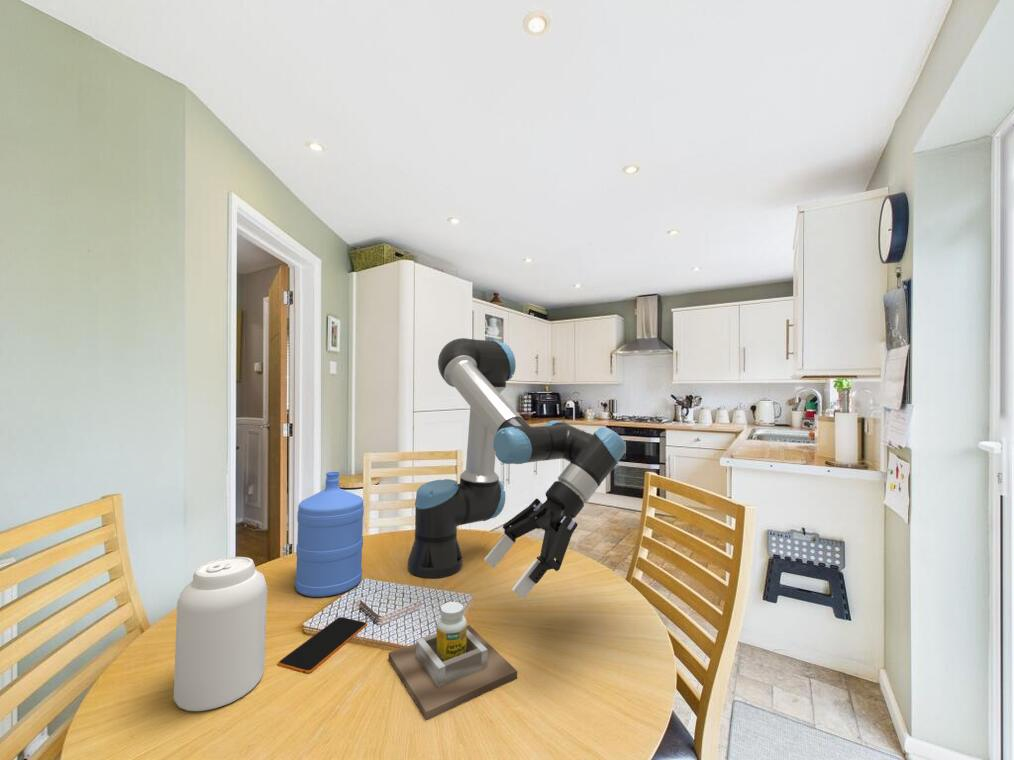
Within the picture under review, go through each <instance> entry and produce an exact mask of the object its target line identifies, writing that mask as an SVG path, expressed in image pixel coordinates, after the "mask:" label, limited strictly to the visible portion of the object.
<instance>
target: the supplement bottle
mask: <svg viewBox="0 0 1014 760" xmlns="http://www.w3.org/2000/svg"><path fill="white" fill-rule="evenodd" d="M467 623H468V622H467V619H466V616H464V606H463V604H462V603H461V602H456V601H450V602H446V603H443V604H442V605H441V607H440V617H439V618H438V620H437V622H436V633H437V656H438V657H439V659H440V660H441V661H442V662H444V661H447V660H449V659H452V658H454V657H457V656H459V655H462V654H465V653H466V639H467Z"/></svg>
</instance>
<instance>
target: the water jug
mask: <svg viewBox="0 0 1014 760" xmlns="http://www.w3.org/2000/svg"><path fill="white" fill-rule="evenodd" d="M339 475H340V472H338V471H328V472H326V473H325V476H326V477H325V478H326V479H325V488H324V489H323V490H321V491H319V492H317V493H315V494H313V495H311V496H309V497H306V498H305V499H303V500H301V501H300V502H299V504H298V505H297V506H298V507H297V508H298V510H297V514H296V515H297V518H296V520H297V521H296V522H297V540H296V541H297V543H296V547H295V549H296V550H295V551H296V552H295V553H296V570H295V571H296V572H295V573H296V574H295V575H296V577H295V580H294V585H295V586H294V587H295V590H297V592H298V593H299V594H301V595H302V596H306V597H311V598H324V597H325V598H326V597H332V596H336V595H339V594H342V593H345V592H348V591H349V590H352V589H353V588H355V587H356V586H357V585H359V583H360V582H361V580H362V577H363V568H362V566H363V565H362V561H363V560H362V559H363V556H362V554H363V546H364V536H363V533H364V531H363V527H364V511H365V510H364V509H365V507H364V499H363V498H362V496H360V495H357V494H355V493H352V492H350V491H347V490H344V489H341V488H340V487H339V484H340V483H339V482H340V478H339Z"/></svg>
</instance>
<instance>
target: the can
mask: <svg viewBox="0 0 1014 760" xmlns="http://www.w3.org/2000/svg"><path fill="white" fill-rule="evenodd" d="M267 599H268V585H267V583H266V579H265V575H264V573H262V572H260V571H259V570H257V568H256V565H255V562H254V560H253V559H252V558H250V557H246V556H245V557H244V556H228V557H223V558H219V559H215V560H212V561H209V562H206V563H204V564H202V565H200V566H199V567H197V568H196V569H195V571H194V573H193V575H192V580H191V581H190V583H188V584H187V585H186V586H185V587H184V588H183V589H182V590H181V592H180V593H179V598H178V599H177V605H176V620H175V621H176V623H175V624H176V627H175V648H174V649H175V652H174V653H175V654H174V674H173V675H174V676H173V677H174V678H173V701H174V703H176V705H177V707H178V708H179V709H182V710H185V711H187V712H204V711H209V710H214V709H218V708H220V707H224V706H226V705H229V704H231V703H233V702H235V701H237V700H238V699H241V698H243V697H244V696H245V695H247V694H248V693H249V692H250V691H252V690H253V689H254V688H255V687H256V686H257V685H258V683H259V682H260V681H261V679H262V677H263V674H264V672H265V667H266V666H265V663H266V661H265V658H266V634H267V632H266V631H267V629H266V628H267V602H268V600H267Z"/></svg>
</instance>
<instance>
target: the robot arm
mask: <svg viewBox="0 0 1014 760" xmlns="http://www.w3.org/2000/svg"><path fill="white" fill-rule="evenodd" d="M516 363H517V362H516V357H515V354H514V352H513V351H512V349H511V347H510V346H508V344H506V343H504V342H500V341H495V340H483V339H474V338H472V339H471V338H465V337H461V338H456V339H453V340H451V341H449V342H447V344H445V345H444V346H443V348H442V349H441V351H440V353H439V355H438V359H437V367H438V371H439V374H440V377H442V378H441V379H443V380H444V382H445V383H446V384H447V385H448V386H450V387H451V388H452V387H453V388H455V389H456V390H457V392H458V393H459V394H460V395H461V397H462V398H463V399H464V400H465V402H466V403H467V404H468V405H469V419H468V420H469V421H468V435H467V448H466V449H467V451H466V462H465V463H466V464H465V469H464V471H462V472H461V474H460V475H459V478H460V479H459V483H458V481H456V480H454V479H448V478H447V479H436V480H431V481H427V482H425V483H423V484H422V485H420V486H419V487H418V489H417V490H416V495H415V496H416V497H415V503H414V505H415V506H414V507H415V508H414V509H415V510H414V511H415V514H414V516H415V518H414V520H415V522H414V524H415V525H414V542H413V544H412V548H411V549H410V553H409V556H408V560H407V571H408V572H409V573H410V574H411V575H414V576H416V577H419V578H427V579H436V578H437V579H438V578H443V577H448V576H452V575H454V574H456V573H458V572H459V571H461V569H462V568H463V556H462V555H463V554H462V551H461V548H460V545H459V542H458V539H457V536H458V534H457V533H458V532H457V530H458V526H463V525H467V524H472V523H478V522H486V521H488V520H491V519H495V518H497V517H498V516H499V515H500V514H501V512H502V511H503V510H504V507H505V504H506V491H505V490H504V489H505V487H504V485H503V483H502V482H501V481H500V479H499V478H500V476H499V475H498V473H496V472H495V467H496V466H495V465H496V458H497V460H498V461H499V462H500V463H502V464H506V465H512V464H513V465H523V464H526V463H527V464H528V463H534V462H542V461H543V462H545V461H552V460H562V459H563V460H565V461H567V462H568V465H567V466H566V467H565V468H564V470H563V471H561V473H560V474H559V476H558V477H557V480H556V481H554V482H553V483H552V484H551V486H550V487H549V488H548V489H547V491H545V497H546V500H545V501H544V502H542V501H541V500H539V498H535V499H534V500H533V501H532V503H530V504H529V505H528V506H527V507H525V508H524V509H523V510H522V511H520V512H519V513H518V514H516V515H515V516H514V517H512V518H510V519H509V520H508V521H506V522H505V523H504V524H503V525H502V529H504V532H503V533H504V534H503V535H502V536H501V537H500V539H499V540H498V541H497V543H496V544H495V545H494V546H493V547H492V549H491V550H490V551H489V552H488V554H487V555H486V556H485V557H484V558H483V560H484V561H485V562H486V563H487V564H488V565H489V566H491V568H492V569H495V567H497V565H498V564H499V562H501V560H502V559H503V558H505V555H506V554H508V551H510V549H511V548H512V547H513V545H514V544H515V543H516V540H517V539H518V538H521V537H522V536H524V535H526V534H528V533H530V532H532V531H535V530H540V529H541V530H542V531H544V534H543V539H542V543H541V544H542V545H541V550H540V555H538V556H537V557H536V558H534V560H533V561H532V563H531V564H530V565H529V566H528V568H527V569H526V570H525V571H524V572H523V574H522V575H521V577H519V579H518V580H517V581H516V583H515V584H514V586H513V587H512V588H511V590H512V591H513V592H514V593H515V594H516V595H517V596H518V597H519V598H521V599H522V600H523V601H524V600H525V599H526V597H527V596H528V595H529V593H530V592H531V590H532V589H533V588H534V586H535V585H537V584H538V583H539V581H540V580H541V579H542V578H543V577H544V575H545V574H546V573H547V572H548V571H550V570H554V571H555V572H558V571H559V570H561V566H562V564H563V561H564V558H565V555H566V553H567V550H568V546H569V544H570V541H571V538H572V535H573V534H574V532H575V530H576V529H577V528H578V523H577V522H576V521H575V520H574V519H575V518H576V517H577V516H578V515H579V514H580V512H581V511H582V510H583V508H584V506H585V503H587V502H588V501H589V500H590V499H591V497H592V496H593V495H594V493H595V492H596V491H597V489H598V488H599V487H600V486H601V485H602V483H603V481H604V480H605V479H606V478H607V477H608V476H609V474H610V473H612V471H613V470H614V468H615V467H616V466H617V465H618V464H619V462H620V460H621V458H623V456H624V454H625V453H626V451H627V445H626V443H625V441H624V439H623V438H622V437H621V436H620V435H619V433H617V432H615V431H614V430H612V429H611V428H608V427H605V426H601V427H598V429H597V430H596V431H595V430H594V432H593V434H592V433H591V432H590V433H589V432H587V431H584V430H583V429H579V428H577V427H574V426H573V425H570V424H569V423H567V422H564V421H560V420H550V421H549V422H548V423H545V424H544V425H540V426H539V425H538V426H532V425H530V424H529V423H528V422H527V421H526V420H525V419H524V418H523V416H521V415H520V414H519V413H518V411H517V410H516V409H515V408H514V407H513V406H512V405H511V403H510V402H509V401H507V399H506V398H505V397H504V396H503V395H502V394H501V393H502V392H503V391H504V390H505V389H506V387H507V382H508V381H510V380H511V379H512V378H513V375H515V372H516ZM569 462H570V463H569Z"/></svg>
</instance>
